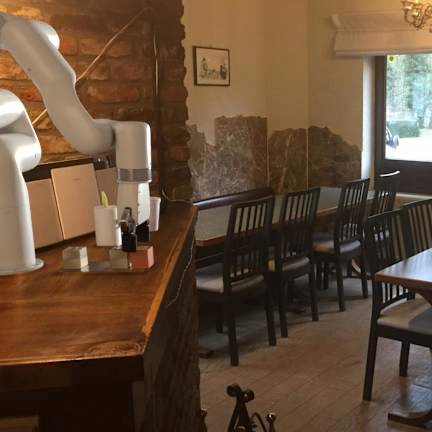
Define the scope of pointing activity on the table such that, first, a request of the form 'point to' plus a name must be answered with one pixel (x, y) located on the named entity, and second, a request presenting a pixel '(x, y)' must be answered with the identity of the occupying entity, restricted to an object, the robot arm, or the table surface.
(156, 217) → the smoothie
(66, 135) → the robot arm
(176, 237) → the table surface
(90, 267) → the letter board
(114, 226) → the candle
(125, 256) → the tile
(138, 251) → the three-striped orange cube
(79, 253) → the tile
